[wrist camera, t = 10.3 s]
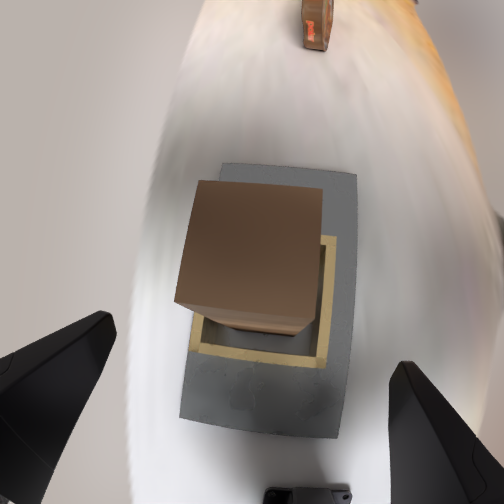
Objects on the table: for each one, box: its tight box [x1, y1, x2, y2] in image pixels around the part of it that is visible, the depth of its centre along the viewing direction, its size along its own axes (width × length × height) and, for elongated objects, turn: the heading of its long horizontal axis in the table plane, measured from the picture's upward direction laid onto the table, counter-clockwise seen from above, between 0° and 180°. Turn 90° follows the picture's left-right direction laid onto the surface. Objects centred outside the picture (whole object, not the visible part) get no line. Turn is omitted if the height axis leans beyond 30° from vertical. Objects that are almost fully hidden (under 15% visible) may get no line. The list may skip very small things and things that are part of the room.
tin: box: [301, 0, 334, 51], centre depth 28 cm, size 15×3×8 cm, turn 165°
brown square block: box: [174, 180, 323, 337], centre depth 15 cm, size 4×4×12 cm
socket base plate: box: [179, 163, 357, 439], centre depth 19 cm, size 20×11×5 cm, turn 172°
